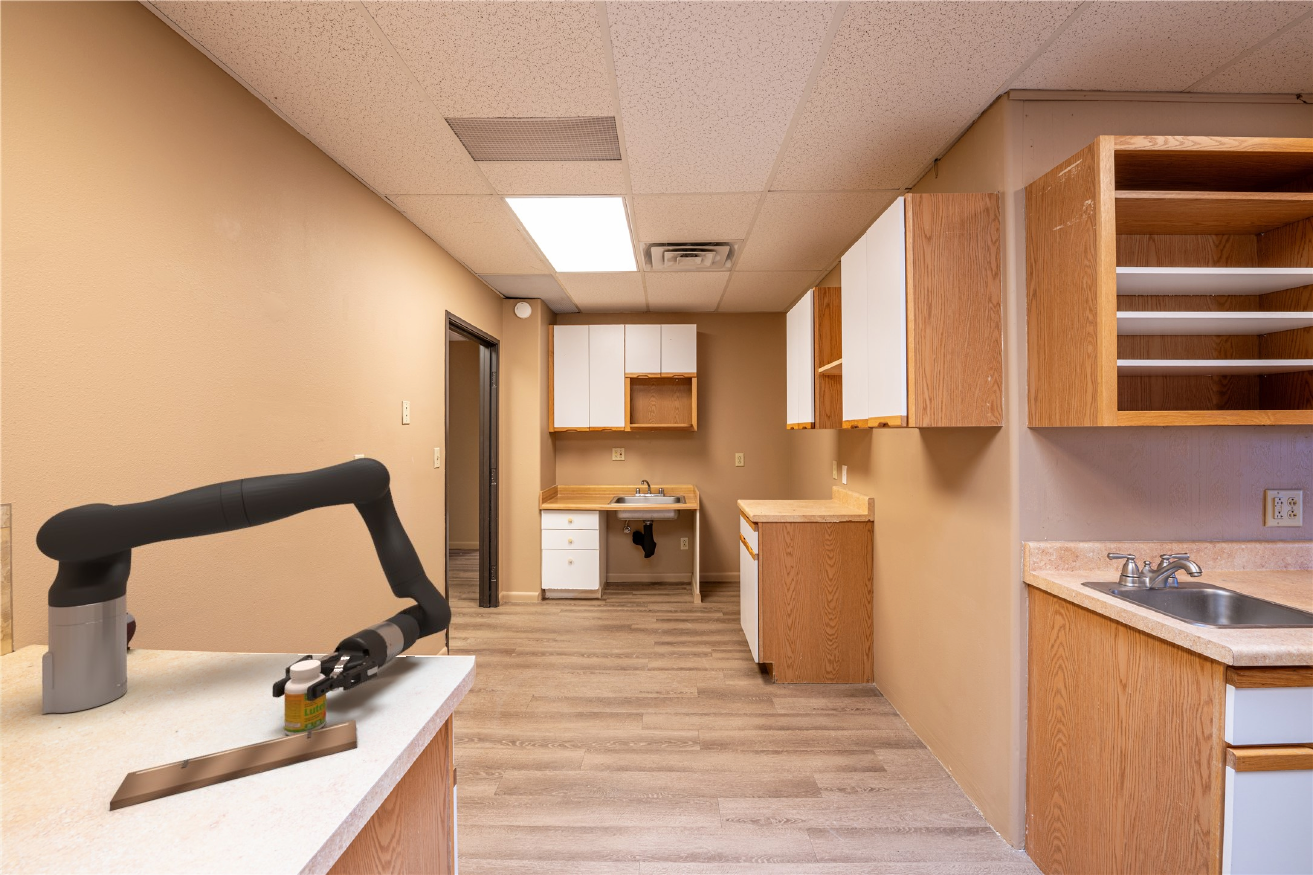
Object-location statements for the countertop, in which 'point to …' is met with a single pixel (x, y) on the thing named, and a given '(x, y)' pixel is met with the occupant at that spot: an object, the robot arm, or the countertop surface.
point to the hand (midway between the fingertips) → (292, 692)
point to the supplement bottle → (303, 699)
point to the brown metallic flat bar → (232, 764)
